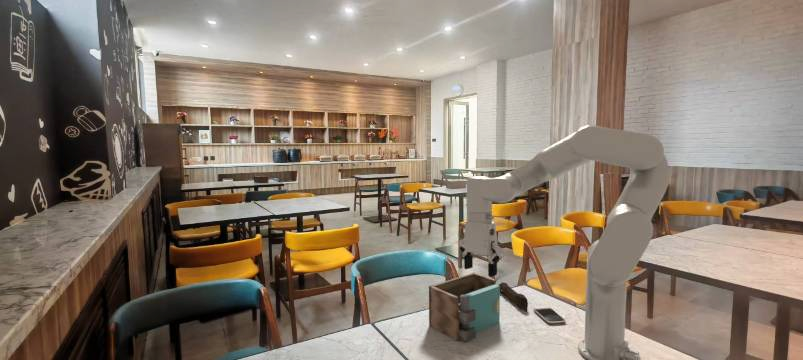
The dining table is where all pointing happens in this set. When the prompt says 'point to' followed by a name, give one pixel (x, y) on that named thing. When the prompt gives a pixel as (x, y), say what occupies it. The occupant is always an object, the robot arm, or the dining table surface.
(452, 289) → the cabinet
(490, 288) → the door
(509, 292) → the hand tool
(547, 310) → the cell phone
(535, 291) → the dining table surface
